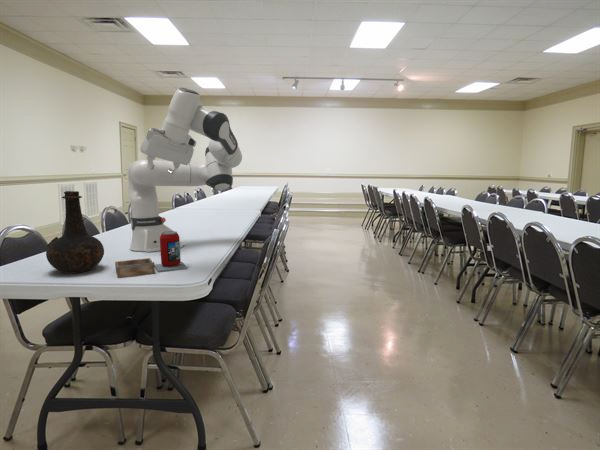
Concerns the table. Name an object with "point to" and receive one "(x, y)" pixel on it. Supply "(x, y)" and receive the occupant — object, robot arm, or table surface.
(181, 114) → the robot arm
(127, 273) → the can cradle
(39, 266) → the table surface
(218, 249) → the table surface
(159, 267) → the rubber mat
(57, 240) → the glass bottle
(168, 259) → the beverage can
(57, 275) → the table surface
